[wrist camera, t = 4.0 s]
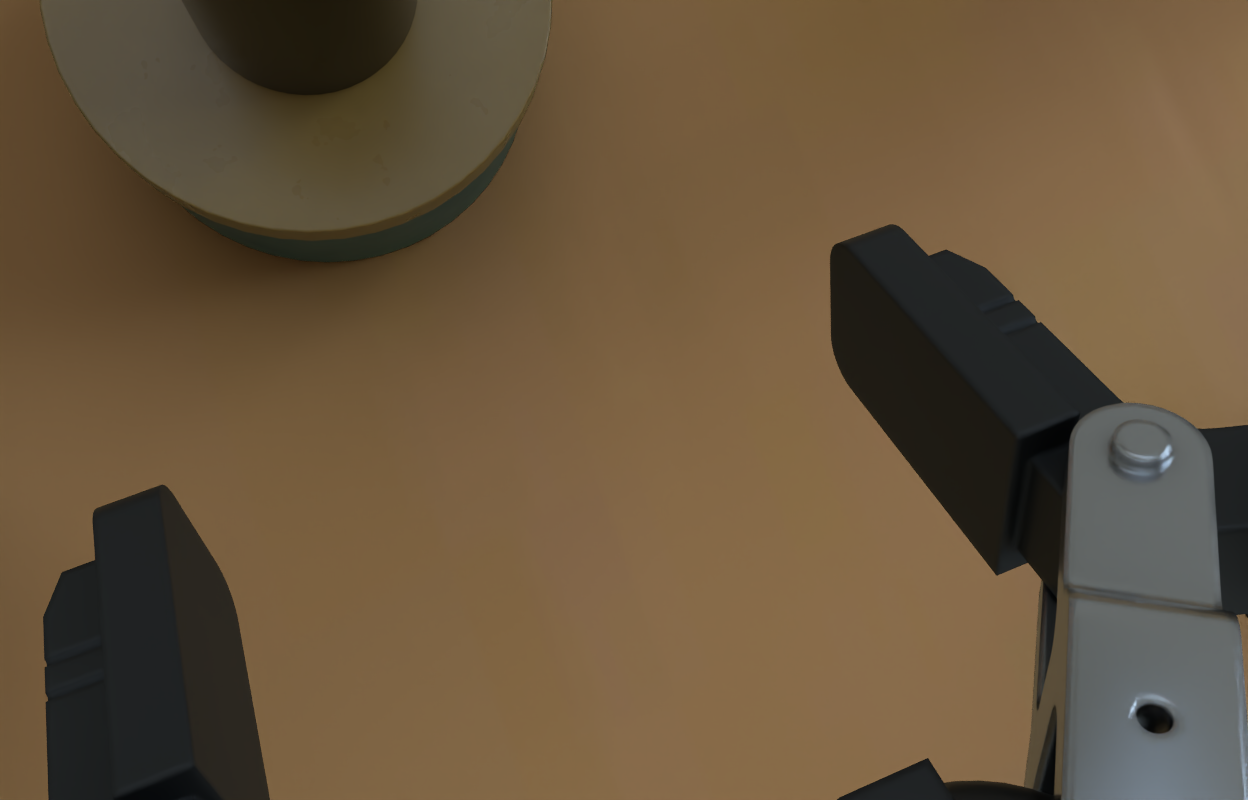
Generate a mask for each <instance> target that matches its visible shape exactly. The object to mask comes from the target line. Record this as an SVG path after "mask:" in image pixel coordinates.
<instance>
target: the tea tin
mask: <svg viewBox="0 0 1248 800" xmlns="http://www.w3.org/2000/svg"><path fill="white" fill-rule="evenodd" d="M182 2H183V4H184V6H185V7H186V9H187V11H188V13H189V15H190V16H191V18H192V20H193V22H194V23H195V25H196V27H197V29H198V31H199V32H200V34H201V36H202V37H203V39H204V40H205V42H206V43H207V45H208V46H209V47H210V49H211V50H212V51H213V52H214V53H215V54H216V55H217V56H218V58H219V59H220V60H221V61H222V62H224V63H225V64H226V65H227V66H228V67H230V68H231V69H232V70H233V71H235V72H236V73H238V74H239V75H241V76H242V77H244V78H245V79H247V80H249V81H251V82H253V83H255V84H257V85H260V86H262V87H265V88H268V89H271V90H274V91H278V92H283V93H288V94H297V95H320V94H326V93H332V92H337V91H340V90H343V89H347V88H350V87H352V86H354V85H356V84H358V83H361V82H363V81H364V80H366V79H367V78H369V77H371V76H372V75H374V74H375V73H377V72H378V71H379V70H380V69H381V68H383V67H384V66H385V65H386V64H387V63H388V62H389V61H390V60H391V59H392V57H393V56H394V55H395V54H396V53H397V51H398V50H399V48H400V47H401V45H402V44H403V43H404V41H405V39H406V37H407V35H408V33H409V31H410V28H411V25H412V22H413V19H414V16H415V12H416V6H417V0H182Z"/></svg>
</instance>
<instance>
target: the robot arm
mask: <svg viewBox="0 0 1248 800" xmlns="http://www.w3.org/2000/svg"><path fill="white" fill-rule="evenodd" d="M830 288H831V341H832V347H833V352H834V355H835V359H836V361H837V364H838V367H839V369H840V371H841V373H842V375H843V377H844V379H845V381H846V382H847V384H848V385H849V387H850V388H851V389H852V391H853V392H854V393H855V394H856V396H857V397H858V398H859V400H860V401H861V402H862V403H863V405H864V406H865V407H866V409H867V410H868V411H869V412H870V414H871V415H872V416H873V418H874V419H875V420H876V421H877V423H878V424H879V425H880V427H881V428H882V429H883V430H884V432H885V433H886V434H887V436H888V437H889V438H890V439H891V441H892V442H893V443H894V444H895V446H896V447H897V448H898V450H899V451H900V452H901V453H902V455H903V456H904V457H905V459H906V460H907V461H908V462H909V464H910V465H911V466H912V468H913V469H914V470H915V471H916V473H917V474H918V475H919V477H920V478H921V479H922V480H923V482H924V483H925V484H926V486H927V487H928V488H929V489H930V491H931V492H932V493H933V494H934V496H935V497H936V498H937V500H938V501H939V502H940V503H941V505H942V506H943V507H944V509H945V510H946V511H947V512H948V514H949V515H950V516H951V518H952V519H953V520H954V521H955V523H956V524H957V525H958V527H959V528H960V529H961V530H962V532H963V533H964V534H965V535H966V537H967V538H968V539H969V541H970V542H971V543H972V544H973V546H974V547H975V548H976V550H977V551H978V552H979V553H980V555H981V556H982V557H983V559H984V560H985V561H986V562H987V564H988V565H989V566H990V568H991V569H992V570H993V571H994V573H995V574H996V575H999V574H1002V573H1004V572H1006V571H1009V570H1011V569H1014V568H1016V567H1018V566H1021V565H1023V564H1025V563H1029V564H1030V566H1031V567H1032V568H1033V569H1034V571H1035V572H1036V573H1037V574H1038V575H1039V577H1040V578H1041V579H1042V581H1041V586H1040V591H1039V603H1038V620H1037V637H1036V654H1035V671H1034V687H1033V704H1032V721H1031V733H1030V742H1029V750H1028V757H1027V764H1026V772H1025V781H1024V787H1021V786H1017V785H1012V784H1007V783H999V782H988V781H954V782H947V783H943V781H942V779H941V778H940V776H939V775H938V773H937V772H936V770H935V768H934V767H933V765H932V764H931V762H930V761H929V759H928V758H927V759H925V760H923V761H920V762H918V763H916V764H914V765H911V766H909V767H907V768H905V769H902V770H900V771H898V772H896V773H893V774H891V775H889V776H887V777H884V778H882V779H880V780H878V781H876V782H873V783H871V784H869V785H867V786H864V787H862V788H860V789H858V790H855V791H853V792H851V793H849V794H846V795H844V796H842V797H840V798H839V799H837V800H1248V724H1247V710H1246V697H1245V683H1244V669H1243V655H1242V642H1241V632H1240V626H1239V622H1238V618H1237V616H1236V615H1240V614H1245V615H1246V616H1247V617H1248V425H1243V426H1233V427H1224V428H1212V429H1197V428H1196V427H1195V426H1194V425H1192V424H1191V423H1190V422H1188V421H1187V420H1186V419H1184V418H1182V417H1180V416H1179V415H1177V414H1175V413H1173V412H1170V411H1168V410H1166V409H1163V408H1159V407H1156V406H1152V405H1147V404H1140V403H1123V402H1122V401H1121V400H1120V399H1119V398H1118V397H1117V396H1116V395H1115V394H1114V393H1113V392H1111V391H1110V390H1109V389H1108V388H1107V387H1106V386H1105V385H1104V384H1103V383H1102V382H1101V381H1100V380H1099V379H1098V378H1097V377H1096V376H1095V375H1094V374H1093V373H1092V372H1091V371H1090V370H1089V369H1088V368H1087V367H1086V366H1085V365H1084V364H1083V363H1082V362H1081V361H1080V360H1079V359H1078V358H1077V357H1076V356H1075V355H1074V354H1073V353H1072V352H1071V351H1070V350H1069V349H1068V348H1067V347H1066V346H1065V345H1064V344H1063V343H1062V342H1061V341H1060V340H1059V339H1058V338H1057V337H1056V336H1055V335H1053V334H1052V333H1051V332H1050V331H1049V330H1048V329H1047V328H1046V327H1045V326H1044V325H1043V324H1042V323H1041V322H1040V323H1037V321H1036V319H1035V316H1034V315H1033V314H1032V313H1031V312H1030V311H1029V310H1028V309H1027V308H1026V307H1025V306H1024V305H1023V304H1022V303H1021V302H1020V301H1019V300H1018V301H1015V300H1014V297H1013V294H1012V293H1011V292H1010V291H1009V290H1008V289H1007V288H1006V287H1005V286H1004V285H1003V284H1002V283H1001V282H1000V281H999V280H998V279H997V278H995V277H994V276H993V275H992V274H991V273H990V272H989V271H988V270H987V269H986V268H985V267H983V266H980V265H978V264H976V263H974V262H972V261H970V260H968V259H965V258H963V257H961V256H959V255H957V254H955V253H953V252H950V251H948V250H944V251H941V252H938V253H936V254H933V255H930V256H928V255H927V254H926V253H925V252H924V251H923V250H922V249H921V248H920V247H919V246H918V245H917V244H916V243H915V242H914V240H913V239H912V238H911V237H910V236H909V235H908V234H907V233H906V232H905V231H904V230H903V229H901V228H900V227H899V226H897V225H894V224H890V225H887V226H884V227H882V228H879V229H876V230H873V231H871V232H868V233H865V234H862V235H859V236H857V237H854V238H851V239H848V240H846V241H843V242H840V243H837V244H835V245H834V246H833V248H832V250H831V255H830ZM93 534H94V547H95V560H94V561H91V562H89V563H86V564H83V565H80V566H78V567H75V568H72V569H70V570H67V571H64V572H62V573H61V576H60V578H59V581H58V583H57V585H56V588H55V590H54V592H53V595H52V597H51V600H50V602H49V604H48V607H47V609H46V612H45V614H44V616H43V625H44V659H45V661H46V663H47V667H45V693H46V695H47V697H48V701H47V702H46V727H47V761H48V795H49V800H270V798H269V792H268V786H267V781H266V775H265V769H264V764H263V758H262V752H261V747H260V741H259V736H258V730H257V724H256V719H255V713H254V707H253V702H252V696H251V690H250V685H249V679H248V673H247V668H246V662H245V657H244V651H243V645H242V640H241V634H240V628H239V623H238V618H237V613H236V609H235V606H234V602H233V599H232V596H231V593H230V591H229V588H228V585H227V583H226V581H225V578H224V576H223V574H222V572H221V570H220V568H219V566H218V565H217V563H216V561H215V560H214V558H213V557H212V555H211V554H210V552H209V550H208V549H207V547H206V546H205V544H204V542H203V541H202V539H201V538H200V536H199V535H198V533H197V531H196V530H195V528H194V527H193V525H192V523H191V522H190V520H189V519H188V517H187V516H186V514H185V512H184V511H183V509H182V508H181V506H180V504H179V503H178V501H177V500H176V498H175V497H174V495H173V494H172V492H171V491H170V490H169V488H168V487H166V486H165V485H160V486H157V487H154V488H151V489H149V490H146V491H143V492H140V493H138V494H135V495H132V496H129V497H126V498H124V499H121V500H118V501H115V502H113V503H110V504H107V505H104V506H101V507H99V508H96V509H95V510H94V513H93Z"/></svg>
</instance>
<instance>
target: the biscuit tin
mask: <svg viewBox="0 0 1248 800" xmlns="http://www.w3.org/2000/svg"><path fill="white" fill-rule="evenodd" d="M40 10H41V15H42V19H43V24H44V28H45V33H46V38H47V42H48V45H49V47H50V50H51V53H52V55H53V58H54V61H55V64H56V66H57V69H58V72H59V74H60V76H61V78H62V80H63V82H64V84H65V86H66V87H67V89H68V91H69V93H70V95H71V97H72V99H73V101H74V102H75V104H76V106H77V107H78V108H79V110H80V111H81V113H82V114H83V115H84V117H85V118H86V120H87V121H88V122H89V124H90V125H91V127H92V128H93V129H94V131H95V132H96V133H97V134H98V135H99V137H100V138H101V139H102V140H103V141H104V142H105V143H106V144H107V145H108V146H109V147H110V148H111V149H112V150H113V152H114V153H115V154H116V155H117V156H118V157H119V158H120V159H121V160H122V161H123V162H124V163H125V164H127V165H128V166H129V167H130V168H131V169H132V170H133V171H134V172H136V173H137V174H138V175H139V176H140V177H142V178H143V179H144V180H145V181H147V182H148V183H149V184H150V185H151V186H153V187H154V188H155V189H156V190H158V191H159V192H161V193H162V194H164V195H166V196H167V197H169V198H170V199H172V200H173V201H175V202H177V203H178V204H180V205H181V206H182V207H183V208H185V209H186V210H187V211H188V212H189V213H191V214H192V215H193V216H194V217H195V218H197V219H198V220H199V221H201V222H202V223H204V224H206V225H207V226H209V227H210V228H212V229H213V230H215V231H217V232H218V233H220V234H221V235H223V236H225V237H228V238H230V239H232V240H234V241H236V242H238V243H240V244H242V245H244V246H247V247H249V248H253V249H256V250H259V251H262V252H265V253H268V254H271V255H274V256H280V257H285V258H290V259H295V260H301V261H316V262H340V261H355V260H360V259H365V258H371V257H376V256H381V255H384V254H387V253H390V252H393V251H396V250H399V249H402V248H405V247H408V246H410V245H412V244H414V243H416V242H418V241H420V240H422V239H424V238H426V237H428V236H430V235H432V234H433V233H435V232H437V231H438V230H440V229H441V228H443V227H444V226H446V225H447V224H449V223H450V222H452V221H453V220H454V219H455V218H456V217H457V216H459V215H460V214H461V213H462V212H463V211H464V210H466V209H467V208H468V207H469V206H470V205H471V204H472V203H473V202H474V201H475V200H476V199H477V197H478V196H479V195H480V194H481V193H482V192H483V191H484V189H485V188H486V187H487V186H488V185H489V183H490V182H491V180H492V179H493V177H494V176H495V174H496V173H497V171H498V170H499V168H500V167H501V165H502V164H503V161H504V159H505V157H506V155H507V153H508V151H509V149H510V147H511V145H512V143H513V141H514V137H515V134H516V131H517V128H518V126H519V125H520V123H521V120H522V118H523V116H524V114H525V112H526V110H527V108H528V106H529V104H530V102H531V100H532V98H533V95H534V92H535V88H536V85H537V82H538V79H539V76H540V73H541V70H542V67H543V63H544V60H545V56H546V51H547V45H548V40H549V34H550V29H551V16H552V0H417V6H416V12H415V16H414V19H413V22H412V25H411V28H410V31H409V33H408V35H407V37H406V39H405V41H404V43H403V44H402V45H401V47H400V48H399V50H398V51H397V53H396V54H395V55H394V56H393V57H392V59H391V60H390V61H389V62H388V63H387V64H386V65H385V66H384V67H383V68H381V69H380V70H379V71H378V72H377V73H375V74H374V75H372V76H371V77H369V78H367V79H366V80H364V81H363V82H361V83H358V84H356V85H354V86H352V87H350V88H347V89H343V90H340V91H337V92H332V93H326V94H320V95H297V94H288V93H283V92H278V91H274V90H271V89H268V88H265V87H262V86H260V85H257V84H255V83H253V82H251V81H249V80H247V79H245V78H244V77H242V76H241V75H239V74H238V73H236V72H235V71H233V70H232V69H231V68H230V67H228V66H227V65H226V64H225V63H224V62H222V61H221V60H220V59H219V58H218V56H217V55H216V54H215V53H214V52H213V51H212V50H211V49H210V47H209V46H208V45H207V43H206V42H205V40H204V39H203V37H202V36H201V34H200V32H199V31H198V29H197V27H196V25H195V23H194V22H193V20H192V18H191V16H190V15H189V13H188V11H187V9H186V7H185V6H184V4H183V2H182V0H40Z"/></svg>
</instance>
